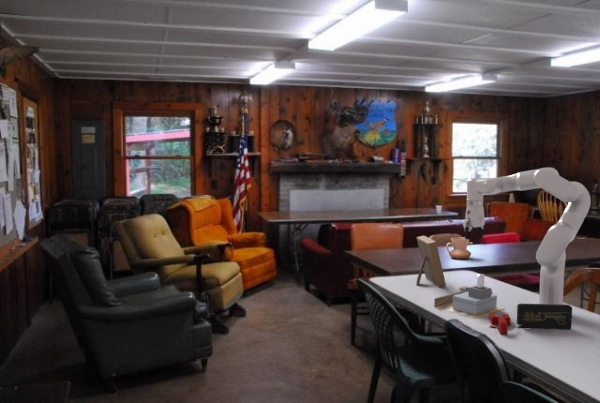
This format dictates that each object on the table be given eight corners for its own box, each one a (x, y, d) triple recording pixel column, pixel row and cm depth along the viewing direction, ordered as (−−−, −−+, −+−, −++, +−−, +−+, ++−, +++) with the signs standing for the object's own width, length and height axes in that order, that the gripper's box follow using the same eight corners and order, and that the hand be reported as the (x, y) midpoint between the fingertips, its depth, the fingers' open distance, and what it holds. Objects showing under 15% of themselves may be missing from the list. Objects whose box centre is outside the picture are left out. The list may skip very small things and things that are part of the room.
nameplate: (569, 328, 214) (570, 304, 213) (571, 330, 212) (572, 306, 211) (516, 327, 216) (517, 303, 215) (517, 328, 214) (518, 304, 213)
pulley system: (487, 291, 277) (458, 289, 279) (488, 283, 276) (458, 280, 278) (498, 308, 250) (466, 305, 252) (499, 298, 249) (466, 295, 251)
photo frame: (433, 277, 304) (433, 235, 302) (446, 286, 283) (446, 241, 280) (408, 278, 303) (408, 235, 301) (419, 287, 282) (419, 242, 279)
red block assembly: (488, 322, 222) (489, 311, 222) (506, 323, 220) (507, 312, 220) (494, 335, 206) (494, 323, 206) (513, 336, 205) (514, 324, 205)
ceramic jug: (469, 256, 370) (469, 236, 369) (475, 260, 355) (475, 239, 354) (443, 256, 371) (443, 236, 370) (448, 260, 357) (448, 239, 356)
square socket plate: (496, 308, 236) (497, 286, 235) (475, 315, 226) (476, 292, 225) (473, 302, 246) (473, 281, 245) (452, 308, 236) (452, 287, 235)
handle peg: (485, 296, 233) (485, 274, 232) (481, 298, 231) (481, 275, 230) (479, 295, 235) (479, 273, 235) (475, 296, 234) (475, 274, 233)
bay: (504, 312, 236) (504, 300, 236) (476, 321, 223) (476, 309, 222) (462, 301, 254) (462, 290, 253) (434, 310, 240) (434, 298, 239)
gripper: (471, 205, 246) (470, 241, 248) (491, 203, 257) (490, 237, 258) (457, 204, 252) (456, 239, 253) (478, 202, 263) (477, 235, 264)
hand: (473, 238), depth 256 cm, fingers open, 9 cm apart
